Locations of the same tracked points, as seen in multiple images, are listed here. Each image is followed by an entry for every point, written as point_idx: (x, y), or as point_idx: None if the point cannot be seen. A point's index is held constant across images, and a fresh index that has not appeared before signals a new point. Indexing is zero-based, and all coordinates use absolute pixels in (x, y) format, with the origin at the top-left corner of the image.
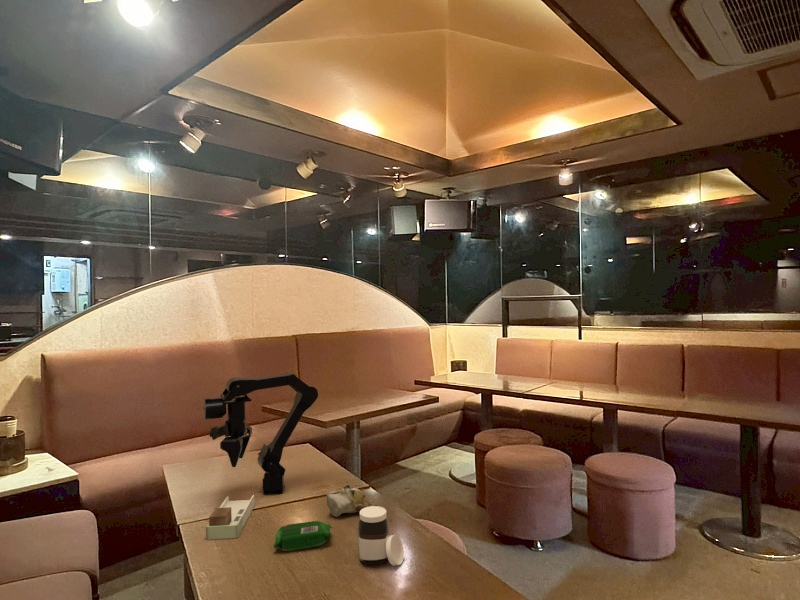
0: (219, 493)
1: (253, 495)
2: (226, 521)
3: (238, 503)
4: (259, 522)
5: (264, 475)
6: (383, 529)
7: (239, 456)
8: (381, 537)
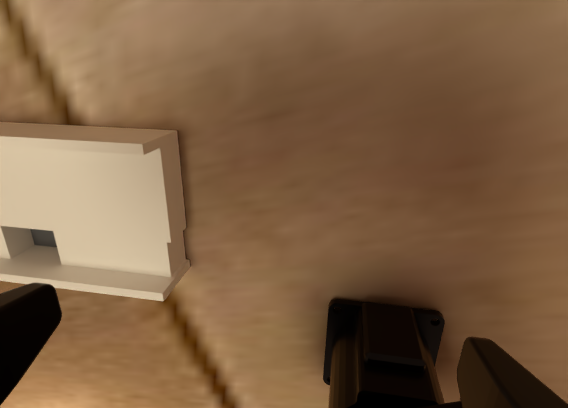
0: (440, 3)
1: (154, 298)
2: None
3: (123, 211)
4: None
5: (358, 390)
6: None
7: (475, 364)
8: None
